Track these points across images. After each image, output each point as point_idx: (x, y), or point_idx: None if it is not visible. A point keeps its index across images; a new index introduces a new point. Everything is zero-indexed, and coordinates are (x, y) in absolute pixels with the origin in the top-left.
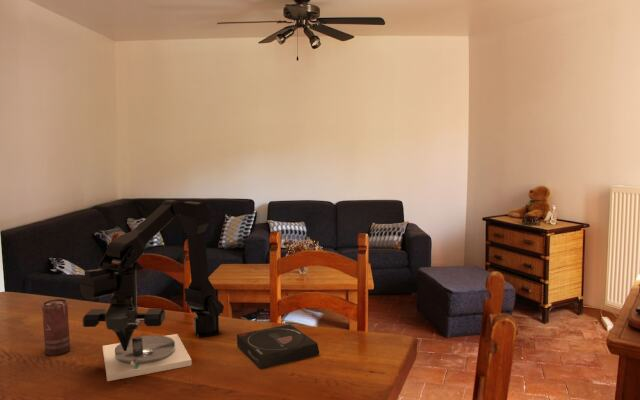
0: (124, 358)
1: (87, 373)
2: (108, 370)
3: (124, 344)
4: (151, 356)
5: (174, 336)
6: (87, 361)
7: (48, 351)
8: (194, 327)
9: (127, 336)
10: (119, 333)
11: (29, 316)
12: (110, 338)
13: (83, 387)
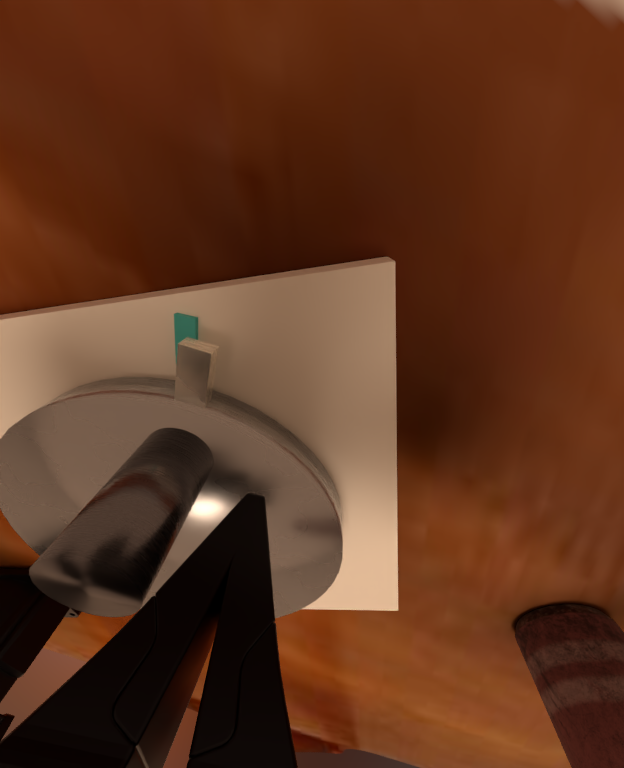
0: (272, 441)
1: (490, 416)
2: (380, 351)
3: (236, 545)
4: (70, 400)
5: None
6: (466, 530)
7: (622, 633)
8: (50, 622)
9: (141, 652)
10: (236, 760)
11: (563, 762)
12: (364, 641)
13: (567, 199)
